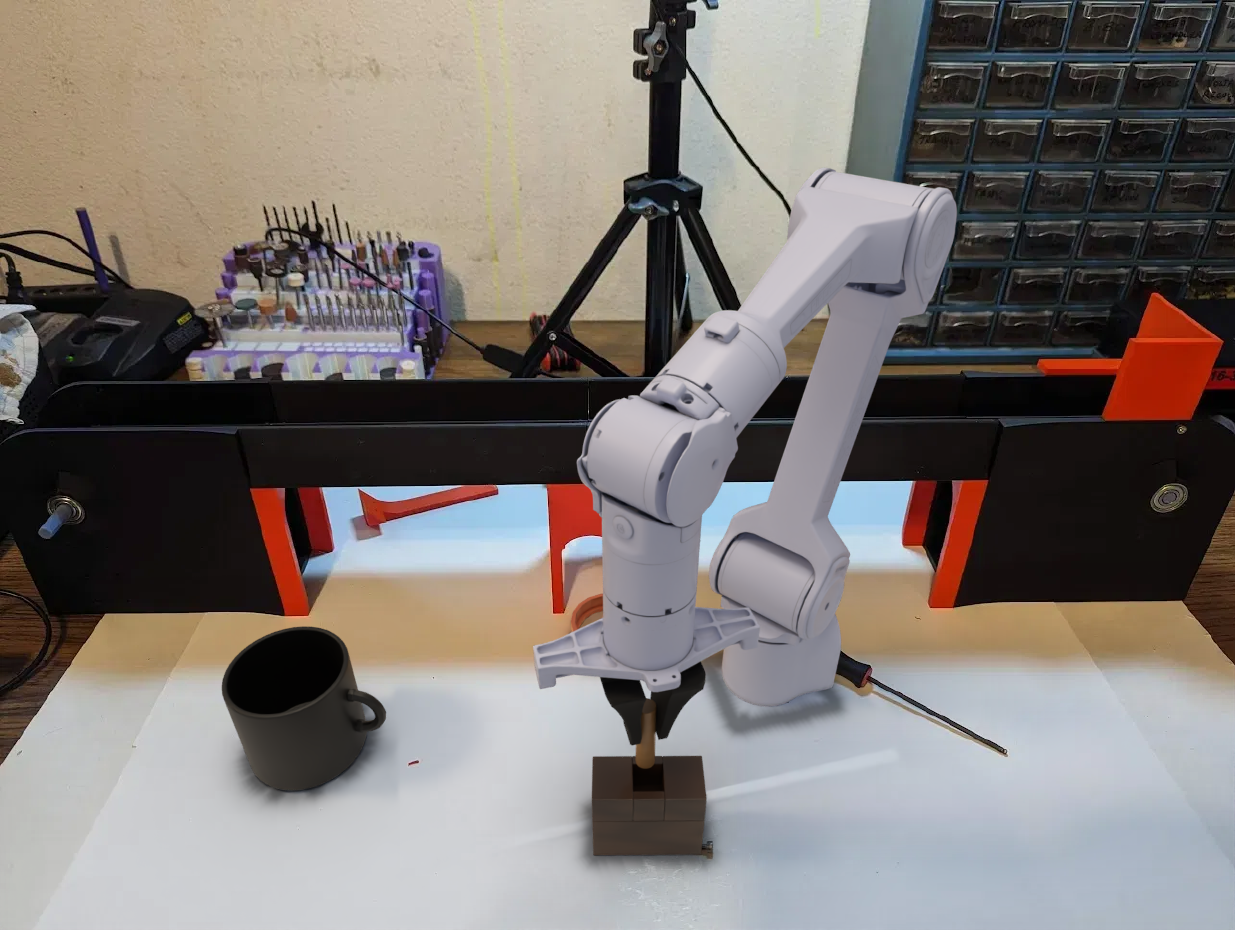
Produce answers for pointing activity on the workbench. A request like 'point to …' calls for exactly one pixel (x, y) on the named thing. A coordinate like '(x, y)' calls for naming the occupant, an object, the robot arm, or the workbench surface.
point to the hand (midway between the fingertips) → (645, 730)
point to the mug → (298, 707)
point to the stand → (648, 806)
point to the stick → (647, 736)
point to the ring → (586, 610)
